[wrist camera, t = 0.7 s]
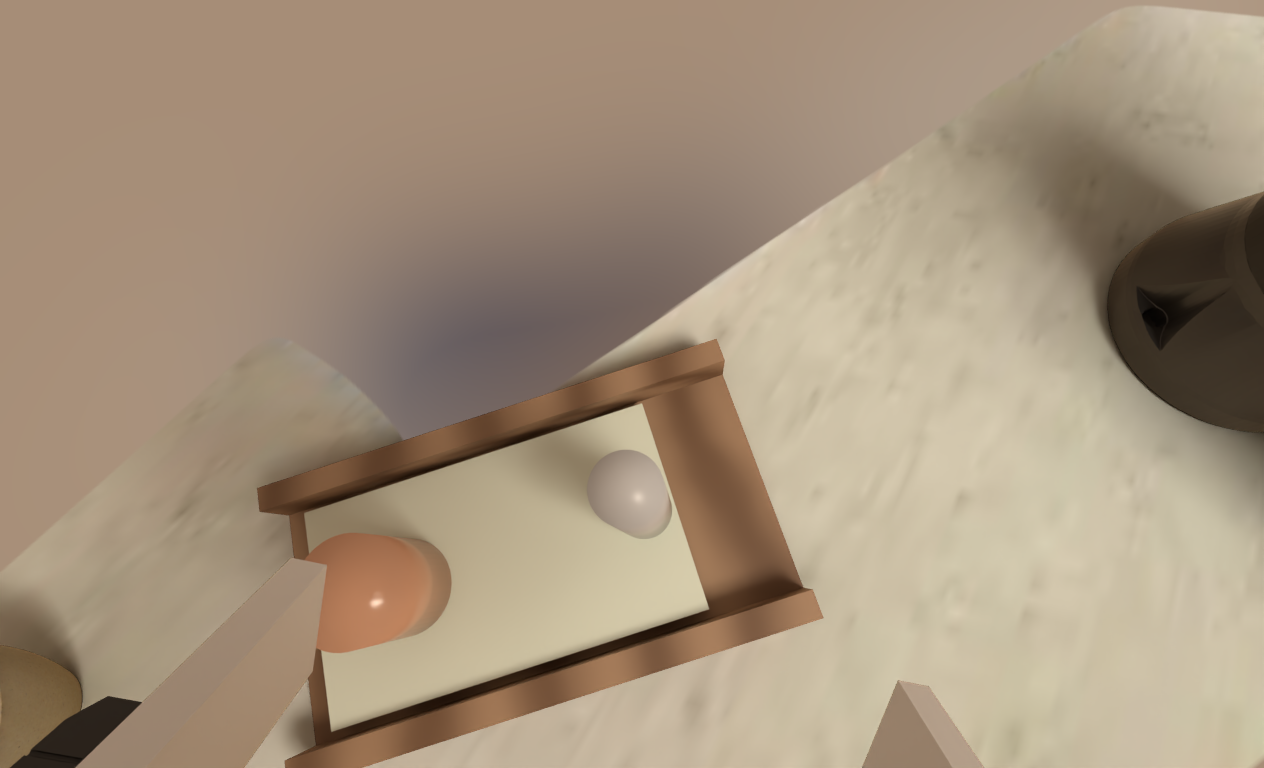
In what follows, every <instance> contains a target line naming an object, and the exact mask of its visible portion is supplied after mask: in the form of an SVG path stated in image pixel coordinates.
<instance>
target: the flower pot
mask: <svg viewBox="0 0 1264 768" xmlns="http://www.w3.org/2000/svg"><path fill="white" fill-rule="evenodd" d="M81 703H82V692H81V687H80V684H79V682H78V680H77V679H76V677H75V676H74V675H73V674H72V673H71V672H69V671H68V670H67V669H65V668H64V667H62V666H60V665H59V664H57V663H55V662H53V661H51V660H49V659H47V658H45V657H42V656H40V655H37V654H34V653H32V652H29V651H25V650H21V649H18V648H13V647H8V646H4V645H0V768H10V767H11V766H12V765H13V764H15V763H16V762H17V761H18V760H19V759H20V758H21V757H23V756H24V755H25V756H27V755H28V754H29V753H30V751H31V749H32V748H33V747H34V746H35V745H36V744H38V743H39V742H40V741H41V740H42V739H43V738H44V737H46V736H47V735H48V734H49V733H50V732H51V731H53V730H54V729H55V728H56V727H57V726H58V725H59V724H61V723H62V722H63V721H64V720H65V719H67V718H69V717H70V716H72V715H74V714H76V713H78V712H80V709H81Z"/></svg>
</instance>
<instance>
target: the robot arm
mask: <svg viewBox="0 0 1264 768" xmlns="http://www.w3.org/2000/svg"><path fill="white" fill-rule="evenodd" d="M1108 316H1109V322H1110V326H1111V330H1112V333H1113V336H1114V339H1115V341H1116V344H1117V346H1118V348H1119V350H1120V352H1121V353H1122V355H1123V357H1124V358H1125V360H1126V362H1127V363H1128V364H1129V366H1130V367H1131V368H1132V370H1133V371H1134V372H1135V373H1136V375H1137V376H1138V377H1139V378H1140V379H1141V380H1142V381H1143V382H1144V383H1145V384H1146V385H1147V386H1148V387H1149V388H1150V389H1151V390H1152V391H1154V392H1155V393H1156V394H1157V395H1159V396H1160V397H1161V398H1163V399H1164V400H1165V401H1167V402H1168V403H1170V404H1171V405H1173V406H1174V407H1176V408H1178V409H1179V410H1181V411H1183V412H1185V413H1187V414H1189V415H1191V416H1193V417H1195V418H1198V419H1200V420H1202V421H1205V422H1208V423H1210V424H1214V425H1217V426H1220V427H1224V428H1228V429H1233V430H1239V431H1247V432H1264V192H1261V193H1257V194H1254V195H1251V196H1248V197H1245V198H1241V199H1238V200H1235V201H1232V202H1229V203H1226V204H1222V205H1219V206H1216V207H1213V208H1210V209H1207V210H1204V211H1200V212H1197V213H1194V214H1191V215H1188V216H1185V217H1183V218H1180V219H1178V220H1176V221H1174V222H1172V223H1170V224H1168V225H1166V226H1165V227H1163V228H1161V229H1160V230H1159V231H1157V232H1156V233H1154V234H1153V235H1152V236H1150V237H1149V238H1147V239H1146V240H1145V241H1143V242H1142V243H1141V244H1139V245H1138V246H1136V247H1135V248H1134V249H1133V250H1132V251H1131V252H1130V253H1129V254H1128V255H1127V256H1126V257H1125V258H1124V259H1123V261H1122V262H1121V264H1120V265H1119V267H1118V268H1117V270H1116V272H1115V274H1114V276H1113V279H1112V282H1111V285H1110V289H1109V295H1108ZM326 570H327V565H325V564H320V563H315V562H310V561H305V560H300V559H295V558H290V559H289V560H288V561H287V562H286V563H285V564H284V565H283V566H282V567H281V568H280V569H279V570H278V571H277V572H276V573H275V574H274V575H273V576H272V577H271V578H270V579H269V580H268V581H267V582H266V583H265V584H264V585H263V586H262V587H261V588H260V589H259V590H257V591H256V592H255V593H254V594H253V595H252V596H251V597H250V598H249V599H248V600H247V601H246V602H245V603H244V604H243V605H242V606H241V607H240V608H239V609H238V610H237V611H236V612H235V613H234V614H233V615H232V616H231V617H230V618H229V619H228V620H227V621H226V622H225V623H224V624H223V625H221V626H220V627H219V628H218V629H217V630H216V631H215V632H214V633H213V634H212V635H211V636H210V637H209V638H208V639H207V640H206V641H205V642H204V643H203V644H202V645H201V646H200V647H199V648H198V649H197V650H196V651H195V652H194V653H193V654H192V655H191V656H190V657H189V658H188V659H187V660H185V661H184V662H183V663H182V664H181V665H180V666H179V667H178V668H177V669H176V670H175V671H174V672H173V673H172V674H171V675H170V676H169V677H168V678H167V679H166V680H165V681H164V682H163V683H162V684H161V685H160V686H159V687H158V688H157V689H156V690H155V691H154V692H153V693H152V694H151V695H150V696H148V697H147V698H146V699H145V700H144V701H143V702H137V701H132V700H126V699H121V698H115V697H110V696H108V697H106V698H104V699H102V700H100V701H98V702H96V703H95V704H93V705H91V706H89V707H87V708H85V709H83V710H82V711H80V712H78V713H76V714H74V715H72V716H70V717H69V718H67V719H65V720H64V721H63V722H62V723H61V724H59V725H58V726H57V727H56V728H55V729H54V730H53V731H51V732H50V733H49V734H48V735H47V736H46V737H44V738H43V739H42V740H41V741H40V742H39V743H38V744H36V745H35V746H34V747H33V748H32V749H31V751H30V753H29V754H28V755H27V756H25V755H24V756H23V757H21V758H20V759H19V760H18V761H17V762H16V763H15V764H13V765H12V766H11V767H10V768H244V767H245V766H246V765H247V763H248V762H249V760H250V759H251V758H252V756H253V755H254V753H255V752H256V750H257V749H258V748H259V746H260V745H261V743H262V742H263V741H264V739H265V738H266V736H267V735H268V734H269V732H270V731H271V729H272V728H273V727H274V725H275V724H276V722H277V721H278V719H279V718H280V717H281V715H282V714H283V712H284V711H285V710H286V708H287V707H288V705H289V704H290V703H291V701H292V700H293V698H294V697H295V696H296V694H297V693H298V691H299V690H300V689H301V687H302V686H303V684H304V683H305V681H306V680H307V679H308V677H309V676H310V674H311V673H312V672H313V666H314V658H315V651H316V644H317V636H318V629H319V621H320V614H321V607H322V599H323V592H324V584H325V577H326ZM862 768H984V767H983V765H982V764H981V762H980V761H979V759H978V758H977V756H976V755H975V753H974V752H973V750H972V749H971V748H970V746H969V745H968V743H967V742H966V740H965V739H964V737H963V736H962V734H961V733H960V731H959V730H958V728H957V727H956V726H955V724H954V723H953V721H952V720H951V718H950V717H949V715H948V714H947V712H946V711H945V709H944V708H943V706H942V705H941V704H940V702H939V701H938V699H937V698H936V696H935V695H934V693H933V692H932V690H931V689H930V687H929V686H924V685H919V684H914V683H909V682H904V681H899V680H898V681H897V684H896V686H895V689H894V691H893V694H892V696H891V698H890V701H889V703H888V706H887V708H886V711H885V713H884V715H883V718H882V720H881V723H880V725H879V728H878V730H877V732H876V735H875V737H874V740H873V742H872V745H871V747H870V749H869V752H868V754H867V757H866V759H865V762H864V764H863V766H862Z"/></svg>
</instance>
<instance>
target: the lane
mask: <svg viewBox="0 0 1264 768" xmlns="http://www.w3.org/2000/svg"><path fill="white" fill-rule="evenodd" d="M724 362H725V360H724V357H723V355H722V352H721V350H720V347H719V344H718V342H717V339H714V340H711V341H708V342H705V343H702V344H699V345H696V346H693V347H690V348H687V349H684V350H681V351H678V352H674V353H671V354H668V355H665V356H662V357H659V358H656V359H653V360H650V361H647V362H644V363H641V364H638V365H634V366H631V367H628V368H625V369H622V370H619V371H616V372H613V373H610V374H607V375H604V376H601V377H598V378H594V379H591V380H588V381H585V382H582V383H579V384H576V385H573V386H570V387H567V388H564V389H561V390H558V391H555V392H551V393H548V394H545V395H542V396H539V397H536V398H533V399H530V400H527V401H524V402H521V403H518V404H515V405H512V406H508V407H505V408H502V409H499V410H496V411H493V412H490V413H487V414H484V415H481V416H478V417H475V418H472V419H468V420H465V421H463V422H459V423H456V424H453V425H450V426H447V427H444V428H441V429H438V430H435V431H432V432H428V433H425V434H422V435H419V436H416V437H413V438H410V439H407V440H404V441H401V442H398V443H395V444H391V445H388V446H385V447H382V448H379V449H376V450H373V451H370V452H367V453H364V454H361V455H358V456H355V457H351V458H348V459H345V460H342V461H339V462H336V463H333V464H330V465H327V466H324V467H321V468H318V469H315V470H312V471H308V472H305V473H302V474H299V475H296V476H293V477H290V478H287V479H284V480H281V481H278V482H275V483H272V484H268V485H265V486H262V487H259V488H257V490H258V500H259V510H260V512H267V513H274V514H282V515H289V517H290V526H291V534H292V543H293V552H294V558H295V559H300V560H305V558H306V557H307V556H308V555H309V549H308V541H307V533H306V525H305V517H304V513H306V512H309V511H312V510H315V509H318V508H321V507H324V506H327V505H330V504H333V503H337V502H340V501H343V500H346V499H349V498H352V497H355V496H358V495H361V494H364V493H367V492H370V491H373V490H377V489H380V488H383V487H386V486H389V485H392V484H395V483H398V482H401V481H404V480H407V479H410V478H413V477H417V476H420V475H423V474H426V473H429V472H432V471H435V470H438V469H441V468H444V467H447V466H450V465H453V464H457V463H460V462H463V461H466V460H469V459H472V458H475V457H478V456H481V455H484V454H487V453H490V452H493V451H497V450H500V449H503V448H506V447H509V446H512V445H515V444H518V443H521V442H524V441H527V440H530V439H533V438H537V437H540V436H543V435H546V434H549V433H552V432H555V431H558V430H561V429H564V428H567V427H570V426H573V425H577V424H580V423H583V422H586V421H589V420H592V419H595V418H598V417H601V416H604V415H607V414H610V413H613V412H617V411H620V410H623V409H626V408H629V407H632V406H635V405H638V404H641V403H642V405H643V408H644V411H645V414H646V417H647V420H648V423H649V426H650V429H651V432H652V435H653V438H654V441H655V445H656V448H657V451H658V454H659V457H660V460H661V463H662V466H663V469H664V472H665V475H666V478H667V481H668V484H669V487H670V490H671V493H672V497H673V500H674V503H675V506H676V509H677V512H678V515H679V518H680V521H681V524H682V527H683V530H684V533H685V536H686V539H687V542H688V546H689V549H690V552H691V555H692V558H693V561H694V564H695V567H696V570H697V573H698V576H699V579H700V582H701V585H702V588H703V591H704V595H705V598H706V601H707V604H708V607H709V610H705V611H702V612H699V613H696V614H693V615H690V616H687V617H684V618H681V619H678V620H675V621H672V622H668V623H665V624H662V625H659V626H656V627H653V628H650V629H647V630H644V631H641V632H638V633H635V634H631V635H628V636H625V637H622V638H619V639H616V640H613V641H610V642H607V643H604V644H601V645H598V646H595V647H591V648H588V649H585V650H582V651H579V652H576V653H573V654H570V655H567V656H564V657H561V658H558V659H554V660H551V661H548V662H545V663H542V664H539V665H536V666H533V667H530V668H527V669H524V670H521V671H517V672H514V673H511V674H508V675H505V676H502V677H499V678H496V679H493V680H490V681H487V682H484V683H480V684H477V685H474V686H471V687H468V688H465V689H462V690H459V691H456V692H453V693H450V694H447V695H443V696H440V697H437V698H434V699H431V700H428V701H425V702H422V703H419V704H416V705H413V706H410V707H406V708H403V709H400V710H397V711H394V712H391V713H388V714H385V715H382V716H379V717H376V718H373V719H369V720H366V721H363V722H360V723H357V724H354V725H351V726H348V727H345V728H342V729H339V730H336V731H333V732H331V725H330V717H329V709H328V701H327V693H326V685H325V677H324V669H323V661H322V653H321V650H319V649H317V648H316V651H315V658H314V666H313V672H312V673H311V674H310V676H309V677H308V680H309V689H310V697H311V706H312V715H313V723H314V732H315V740H316V746H315V747H313V748H311V749H308V750H306V751H304V752H302V753H300V754H298V755H296V756H294V757H292V758H289V759H287V760H285V768H363V767H366V766H369V765H372V764H375V763H378V762H381V761H384V760H387V759H390V758H393V757H396V756H400V755H403V754H406V753H409V752H412V751H415V750H418V749H421V748H424V747H427V746H430V745H433V744H437V743H440V742H443V741H446V740H449V739H452V738H455V737H458V736H461V735H464V734H467V733H470V732H474V731H477V730H480V729H483V728H486V727H489V726H492V725H495V724H498V723H501V722H504V721H507V720H511V719H514V718H517V717H520V716H523V715H526V714H529V713H532V712H535V711H538V710H541V709H544V708H548V707H551V706H554V705H557V704H560V703H563V702H566V701H569V700H572V699H575V698H578V697H581V696H585V695H588V694H591V693H594V692H597V691H600V690H603V689H606V688H609V687H612V686H615V685H618V684H622V683H625V682H628V681H631V680H634V679H637V678H640V677H643V676H646V675H649V674H652V673H655V672H659V671H662V670H665V669H668V668H671V667H674V666H677V665H680V664H683V663H686V662H689V661H692V660H696V659H699V658H702V657H705V656H708V655H711V654H714V653H717V652H720V651H723V650H726V649H729V648H733V647H736V646H739V645H742V644H745V643H748V642H751V641H754V640H757V639H760V638H763V637H766V636H770V635H773V634H776V633H779V632H782V631H785V630H788V629H791V628H794V627H797V626H800V625H803V624H807V623H810V622H813V621H816V620H819V619H822V618H823V615H822V613H821V610H820V608H819V605H818V602H817V600H816V597H815V595H814V592H813V589H807V588H803V586H802V583H801V580H800V578H799V575H798V572H797V570H796V567H795V565H794V562H793V559H792V557H791V554H790V551H789V549H788V546H787V543H786V541H785V538H784V536H783V533H782V530H781V528H780V525H779V522H778V520H777V517H776V514H775V512H774V509H773V507H772V504H771V501H770V499H769V496H768V493H767V491H766V488H765V485H764V483H763V480H762V478H761V475H760V472H759V470H758V467H757V464H756V462H755V459H754V456H753V454H752V451H751V449H750V446H749V443H748V441H747V438H746V435H745V433H744V430H743V427H742V425H741V422H740V420H739V417H738V414H737V412H736V409H735V406H734V404H733V401H732V398H731V396H730V393H729V390H728V388H727V385H726V383H725V380H724V377H723V368H724Z"/></svg>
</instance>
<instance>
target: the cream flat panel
mask: <svg viewBox="0 0 1264 768" xmlns="http://www.w3.org/2000/svg"><path fill="white" fill-rule="evenodd" d="M304 517H305V525H306V533H307V541H308V549H309V554H310V552H311V551H313V550H314V549H315V548H316V547H317V546H318V545H320V544H321V543H322V542H324V541H326V540H327V539H329V538H332V537H334V536H336V535H340V534H344V533H364V534H374V535H384V536H393V537H403V538H413V539H420V540H424V541H426V542H429V543H431V544H432V545H434V546H435V547H436V548H437V549H438V550H440V552H441V553H442V554H443V555H444V557H445V559H446V560H447V563H448V565H449V568H450V572H451V580H452V585H451V593H450V598H449V601H448V604H447V606H446V608H445V610H444V611H443V613H442V615H441V616H440V617H439V619H438V620H437V621H436V622H435V623H434V624H433V625H432V626H431V627H429V628H428V629H427V630H425V631H423V632H422V633H419V634H417V635H414V636H411V637H407V638H403V639H399V640H395V641H391V642H387V643H383V644H379V645H374V646H370V647H366V648H362V649H358V650H354V651H350V652H345V653H330V652H325V651H322V650H321V653H322V661H323V669H324V677H325V685H326V693H327V701H328V709H329V717H330V725H331V732H333V731H336V730H339V729H342V728H345V727H348V726H351V725H354V724H357V723H360V722H363V721H366V720H369V719H373V718H376V717H379V716H382V715H385V714H388V713H391V712H394V711H397V710H400V709H403V708H406V707H410V706H413V705H416V704H419V703H422V702H425V701H428V700H431V699H434V698H437V697H440V696H443V695H447V694H450V693H453V692H456V691H459V690H462V689H465V688H468V687H471V686H474V685H477V684H480V683H484V682H487V681H490V680H493V679H496V678H499V677H502V676H505V675H508V674H511V673H514V672H517V671H521V670H524V669H527V668H530V667H533V666H536V665H539V664H542V663H545V662H548V661H551V660H554V659H558V658H561V657H564V656H567V655H570V654H573V653H576V652H579V651H582V650H585V649H588V648H591V647H595V646H598V645H601V644H604V643H607V642H610V641H613V640H616V639H619V638H622V637H625V636H628V635H631V634H635V633H638V632H641V631H644V630H647V629H650V628H653V627H656V626H659V625H662V624H665V623H668V622H672V621H675V620H678V619H681V618H684V617H687V616H690V615H693V614H696V613H699V612H702V611H705V610H709V607H708V604H707V601H706V598H705V595H704V591H703V588H702V585H701V582H700V579H699V576H698V573H697V570H696V567H695V564H694V561H693V558H692V555H691V552H690V549H689V546H688V542H687V539H686V536H685V533H684V530H683V527H682V524H681V521H680V518H679V515H678V512H677V509H676V506H675V503H674V500H673V497H672V493H671V490H670V487H669V484H668V481H667V478H666V475H665V472H664V469H663V466H662V463H661V460H660V457H659V454H658V451H657V448H656V445H655V441H654V438H653V435H652V432H651V429H650V426H649V423H648V420H647V417H646V414H645V411H644V408H643V405H642V403H641V404H638V405H635V406H632V407H629V408H626V409H623V410H620V411H617V412H613V413H610V414H607V415H604V416H601V417H598V418H595V419H592V420H589V421H586V422H583V423H580V424H577V425H573V426H570V427H567V428H564V429H561V430H558V431H555V432H552V433H549V434H546V435H543V436H540V437H537V438H533V439H530V440H527V441H524V442H521V443H518V444H515V445H512V446H509V447H506V448H503V449H500V450H497V451H493V452H490V453H487V454H484V455H481V456H478V457H475V458H472V459H469V460H466V461H463V462H460V463H457V464H453V465H450V466H447V467H444V468H441V469H438V470H435V471H432V472H429V473H426V474H423V475H420V476H417V477H413V478H410V479H407V480H404V481H401V482H398V483H395V484H392V485H389V486H386V487H383V488H380V489H377V490H373V491H370V492H367V493H364V494H361V495H358V496H355V497H352V498H349V499H346V500H343V501H340V502H337V503H333V504H330V505H327V506H324V507H321V508H318V509H315V510H312V511H309V512H306V513H304Z"/></svg>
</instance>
